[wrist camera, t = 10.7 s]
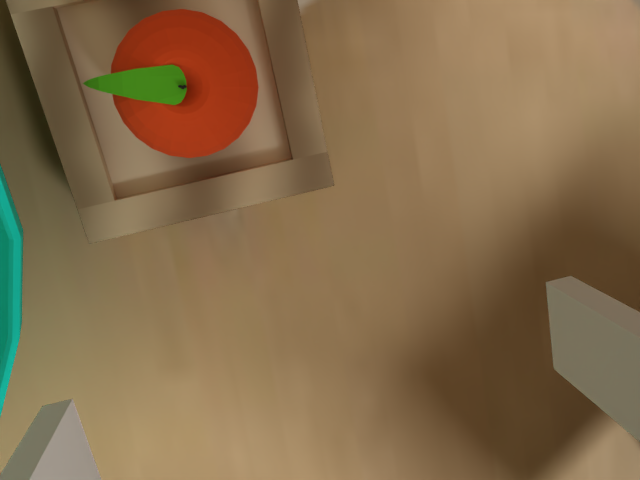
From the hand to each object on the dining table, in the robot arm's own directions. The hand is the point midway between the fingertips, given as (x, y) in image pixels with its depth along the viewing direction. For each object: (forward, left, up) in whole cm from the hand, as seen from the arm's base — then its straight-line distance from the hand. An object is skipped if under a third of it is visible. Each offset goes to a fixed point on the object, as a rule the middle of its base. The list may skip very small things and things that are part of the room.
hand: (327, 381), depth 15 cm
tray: (+3, -8, -23) cm, 25 cm away
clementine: (+3, -8, -19) cm, 21 cm away
